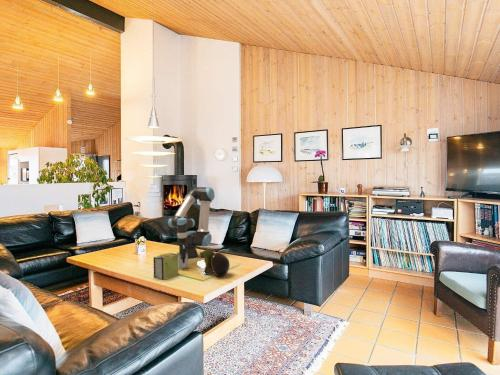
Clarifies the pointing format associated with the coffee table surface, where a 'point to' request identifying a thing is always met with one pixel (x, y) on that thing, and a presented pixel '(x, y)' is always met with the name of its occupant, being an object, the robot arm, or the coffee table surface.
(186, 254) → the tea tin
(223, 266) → the frog statue
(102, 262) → the coffee table surface
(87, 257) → the coffee table surface
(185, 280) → the coffee table surface
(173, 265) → the protein box
